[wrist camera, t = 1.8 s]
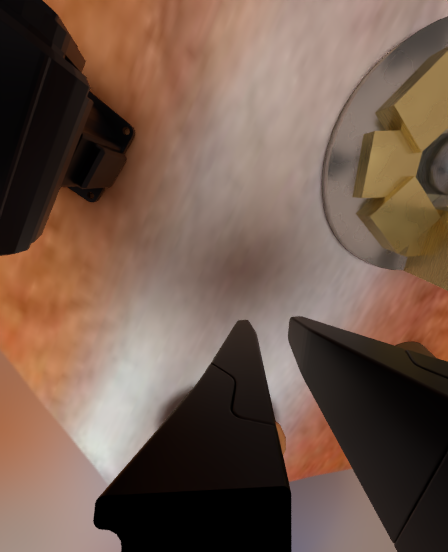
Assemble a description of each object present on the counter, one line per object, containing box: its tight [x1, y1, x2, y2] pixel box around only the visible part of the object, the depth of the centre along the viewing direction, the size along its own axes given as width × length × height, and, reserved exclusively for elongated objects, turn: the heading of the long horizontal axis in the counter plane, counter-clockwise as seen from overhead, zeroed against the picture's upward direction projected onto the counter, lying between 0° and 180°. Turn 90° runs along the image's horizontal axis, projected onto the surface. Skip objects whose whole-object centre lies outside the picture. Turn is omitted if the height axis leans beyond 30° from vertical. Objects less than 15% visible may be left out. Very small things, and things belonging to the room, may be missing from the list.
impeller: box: [322, 17, 448, 270], centre depth 17 cm, size 18×18×3 cm
